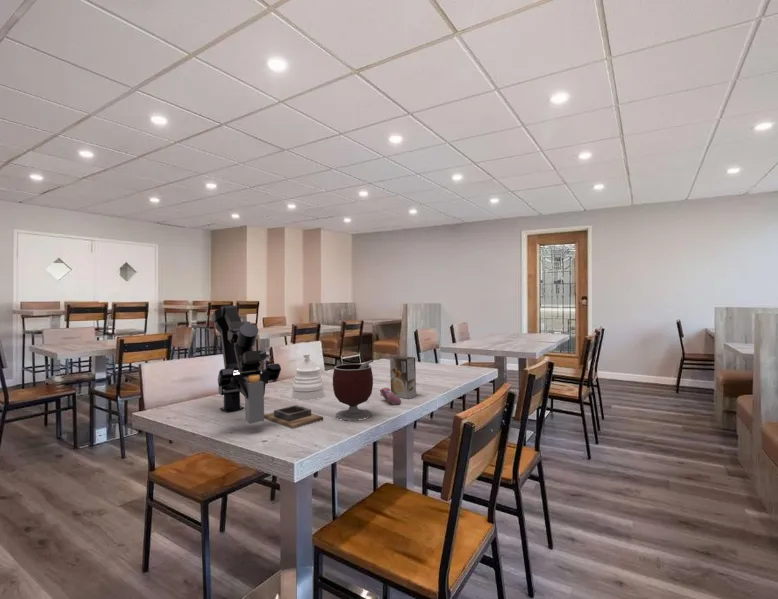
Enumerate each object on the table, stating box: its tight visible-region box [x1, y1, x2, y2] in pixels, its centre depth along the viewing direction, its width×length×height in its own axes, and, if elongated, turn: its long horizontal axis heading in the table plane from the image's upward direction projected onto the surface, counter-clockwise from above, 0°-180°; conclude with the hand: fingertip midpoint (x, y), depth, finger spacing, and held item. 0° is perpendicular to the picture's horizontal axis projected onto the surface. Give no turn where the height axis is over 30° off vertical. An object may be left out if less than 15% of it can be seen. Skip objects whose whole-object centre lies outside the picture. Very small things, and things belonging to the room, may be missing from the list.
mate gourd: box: [332, 359, 374, 421], centre depth 141 cm, size 16×14×20 cm
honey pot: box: [291, 353, 325, 401], centre depth 170 cm, size 13×13×18 cm
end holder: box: [264, 404, 324, 429], centre depth 139 cm, size 18×12×3 cm, turn 47°
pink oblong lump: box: [379, 387, 402, 405], centre depth 159 cm, size 10×5×7 cm, turn 21°
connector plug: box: [244, 374, 265, 425], centre depth 127 cm, size 4×4×14 cm
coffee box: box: [389, 355, 417, 400], centre depth 168 cm, size 9×6×16 cm
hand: (255, 396), depth 125 cm, fingers closed on connector plug, 4 cm apart
